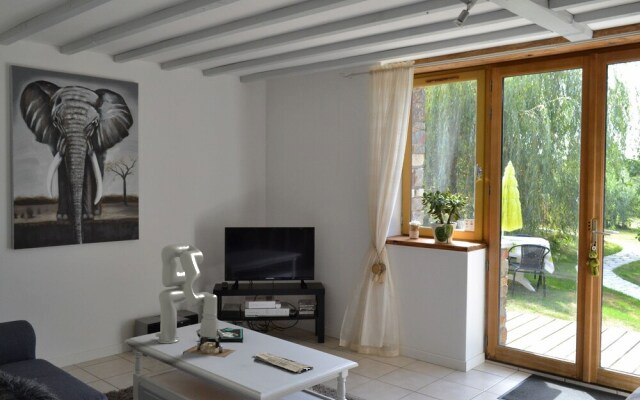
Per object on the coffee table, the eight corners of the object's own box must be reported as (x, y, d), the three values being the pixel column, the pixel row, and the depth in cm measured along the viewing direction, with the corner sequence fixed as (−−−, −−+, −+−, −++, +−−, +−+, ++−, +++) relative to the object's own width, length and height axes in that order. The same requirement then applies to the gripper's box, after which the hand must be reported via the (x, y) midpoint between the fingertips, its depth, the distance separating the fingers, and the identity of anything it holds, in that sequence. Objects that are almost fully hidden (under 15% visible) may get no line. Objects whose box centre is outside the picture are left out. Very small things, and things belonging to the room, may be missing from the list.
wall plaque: (190, 340, 354) (224, 350, 336) (190, 334, 354) (224, 343, 336) (225, 331, 378) (259, 339, 360) (226, 325, 378) (259, 333, 360)
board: (182, 354, 326) (183, 345, 326) (196, 347, 339) (196, 338, 339) (224, 360, 317) (224, 350, 317) (236, 352, 330) (236, 343, 330)
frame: (200, 352, 326) (201, 345, 326) (207, 348, 332) (207, 341, 332) (211, 353, 324) (212, 346, 323) (218, 350, 330) (218, 343, 330)
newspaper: (313, 369, 305) (313, 363, 305) (297, 375, 295) (297, 368, 295) (266, 355, 328) (267, 349, 328) (250, 360, 319) (250, 354, 318)
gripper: (193, 316, 327) (192, 346, 327) (220, 319, 321) (219, 350, 322) (200, 313, 334) (199, 343, 334) (226, 316, 328) (226, 346, 329)
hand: (209, 346), depth 328 cm, fingers open, 9 cm apart
